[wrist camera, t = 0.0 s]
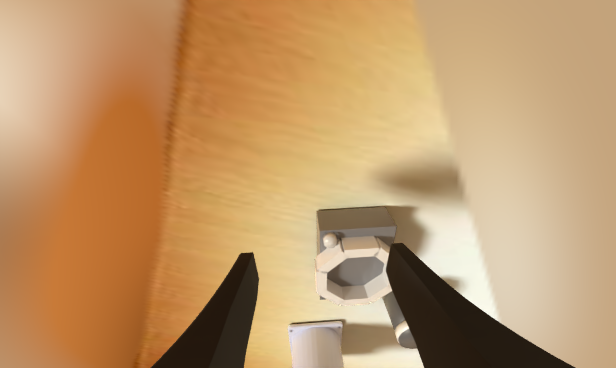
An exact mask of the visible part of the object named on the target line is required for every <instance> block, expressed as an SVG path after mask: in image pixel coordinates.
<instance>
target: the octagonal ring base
mask: <svg viewBox="0 0 616 368" xmlns="http://www.w3.org/2000/svg"><path fill="white" fill-rule="evenodd" d="M396 228H397V225H396V224H395V222H394V221H393V219H392V217H391V216H390V214H389V212H388V211H387V209H386V208H385V207H374V208H357V209H340V210H323V211H317V256H316V259H315V282H316V293H318V295H320V300H323V299H327V300H329V301H331V302H333V303H335V304H336V305H338V306H339V305H340V304H341V306H349V305H363V304H370V302H371V303H373V302H375V301H377V300H378V299H380V298H381V297H383V296H385V295H386V294H388V293H390V292H391V291H392V289H391V286H390V283H389V280H388V277H387V273H386V266H387V261H388V256H389V251H390V246H391V244H393V242H394V238H395V233H396Z"/></svg>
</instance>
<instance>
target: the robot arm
mask: <svg viewBox="0 0 616 368" xmlns="http://www.w3.org/2000/svg"><path fill="white" fill-rule="evenodd" d="M386 273H387V277H388V280H389V283H390V286H391V289H392V292H393V294H394V296H395V298H396V301H397V303H398V305H399V307H400V309H401V312H402V314H403V316H404V318H405V321H406V323H407V325H408V327H409V329H410V332H411V334H412V336H413V338H414V341H415V343H416V346H417V349H418V351H419V354H420V357H421V360H422V363H423V365H424V368H575V367H573V366H571V365H569V364H567V363H566V362H564V361H562V360H560V359H558V358H556V357H555V356H553V355H551V354H550V353H548V352H546V351H544V350H543V349H541V348H539V347H538V346H536V345H534V344H533V343H531V342H529V341H528V340H526V339H524V338H523V337H521V336H519V335H518V334H516V333H515V332H513V331H512V330H510V329H509V328H507V327H506V326H504V325H503V324H501V323H500V322H498V321H496V320H495V319H494V318H492V317H491V316H489V315H488V314H486V313H485V312H483V311H482V310H481V309H479V308H478V307H477V306H475V305H474V304H472V303H471V302H470V301H468V300H467V299H466V298H465V297H463V296H462V295H461V294H459V293H458V292H457V291H456V290H454V289H453V288H452V287H451V286H450V285H448V284H447V283H446V282H445V281H444V280H442V279H441V278H440V277H439V276H438V275H437V274H436V273H434V272H433V271H432V270H431V269H430V268H429V267H428V266H427V265H426V264H424V263H423V262H422V261H421V260H420V259H419V258H418V257H417V256H416V255H415V254H414V253H413V252H412V251H411V250H409V249H408V248H407V247H406V246H405V245H404V244H403V243H394V244H391V246H390V251H389V256H388V261H387V266H386ZM258 283H259V277H258V272H257V268H256V263H255V259H254V254H253V253H241V254H240V255H239V257H238V258H237V260H236V262H235V263H234V265H233V267H232V268H231V270H230V272H229V273H228V275H227V276H226V278H225V279H224V281H223V282H222V284H221V285H220V287H219V288H218V290H217V291H216V292H215V294H214V295H213V297H212V298H211V299H210V301H209V302H208V303H207V305H206V306H205V307H204V309H203V310H202V311H201V312H200V314H199V315H198V316H197V317H196V319H195V320H194V321H193V322H192V324H191V325H190V326H189V327H188V328H187V329H186V331H185V332H184V333H183V334H182V335H181V336H180V337H179V338H178V340H177V341H176V342H175V343H174V344H173V345H172V346H171V347H170V348H169V349H168V351H167V352H166V353H165V354H164V355H163V356H162V357H161V358H160V359H159V360H158V361H157V362H156V363H155V364H154V365H153V366H152V367H151V368H244V362H245V355H246V349H247V344H248V340H249V335H250V330H251V325H252V320H253V316H254V311H255V306H256V301H257V293H258ZM342 328H343V323H342V322H341V321H332V322H319V323H305V324H292V325H289V326H288V333H289V340H290V347H291V354H292V368H344V364H343V358H342V352H341V341H342Z"/></svg>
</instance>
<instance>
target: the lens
mask: <svg viewBox="0 0 616 368" xmlns="http://www.w3.org/2000/svg"><path fill="white" fill-rule="evenodd" d="M382 298H383V300H384V303H385V306H386V309H387V311H388V314H389V317H390V319H391V322H392V325H393V327H394V330H395V335H396V338H397V341H398V343H399V344H400V345H401V346H402V347H405V348H410V349H414V348H417V346H416V343H415V341H414V338H413V336H412V334H411V332H410V329H409V327H408V325H407V323H406V321H405V318H404V316H403V314H402V312H401V309H400V307H399V305H398V303H397V301H396V298H395V296H394V294H393V292H392V291H391V292H390V293H388V294H386V295H385V296H383V297H382Z"/></svg>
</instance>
